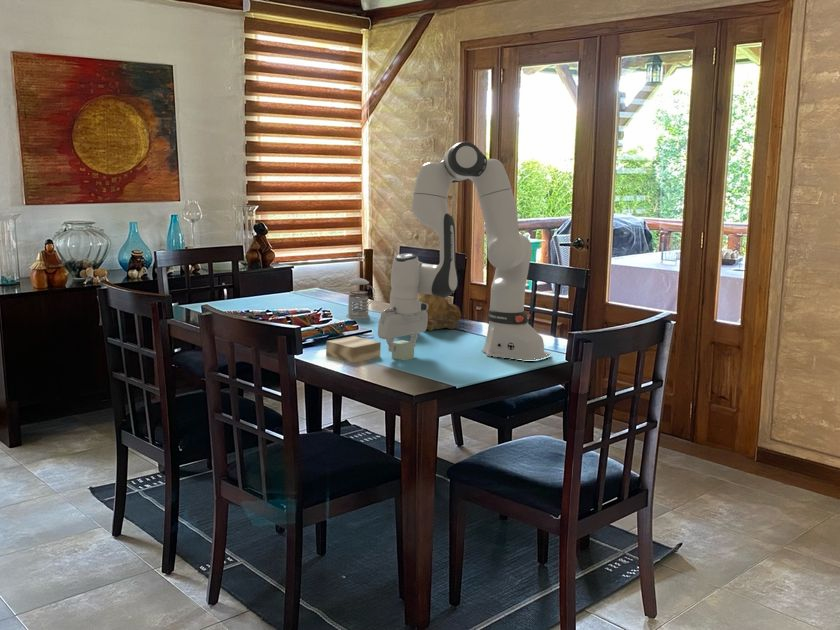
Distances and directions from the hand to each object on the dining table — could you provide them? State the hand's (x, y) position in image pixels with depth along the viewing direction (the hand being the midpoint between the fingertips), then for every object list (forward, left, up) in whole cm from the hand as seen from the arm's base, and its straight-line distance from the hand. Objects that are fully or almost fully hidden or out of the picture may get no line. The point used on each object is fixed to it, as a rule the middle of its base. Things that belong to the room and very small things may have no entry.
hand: (402, 349), depth 259 cm
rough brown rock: (+21, -47, -3) cm, 52 cm away
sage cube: (-1, 0, -3) cm, 3 cm away
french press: (+55, -41, -3) cm, 69 cm away
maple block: (+11, +10, -3) cm, 16 cm away
